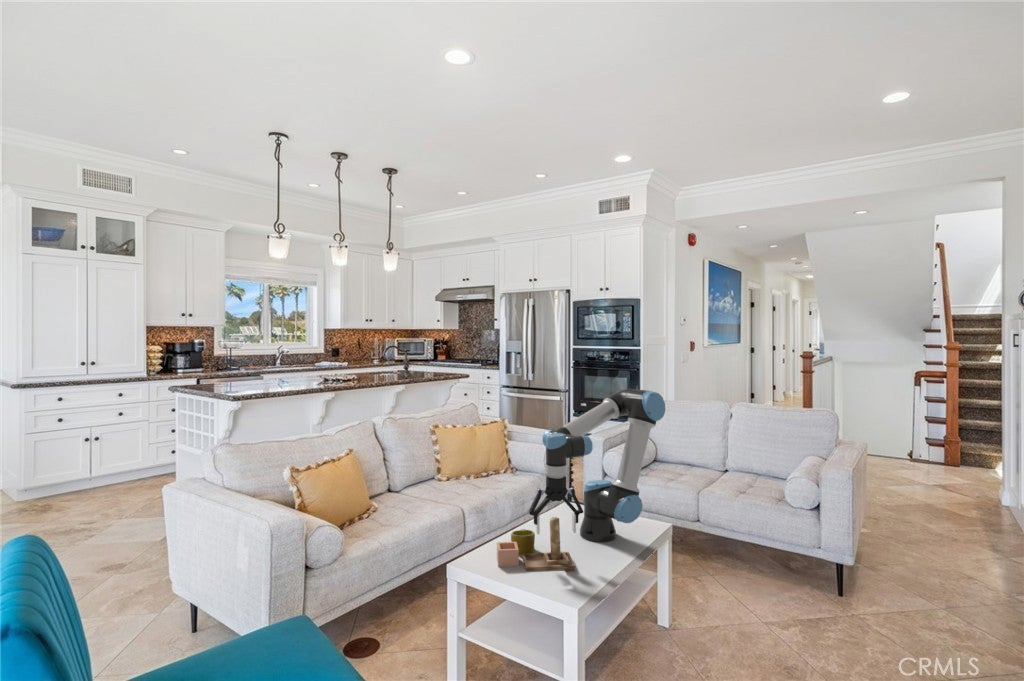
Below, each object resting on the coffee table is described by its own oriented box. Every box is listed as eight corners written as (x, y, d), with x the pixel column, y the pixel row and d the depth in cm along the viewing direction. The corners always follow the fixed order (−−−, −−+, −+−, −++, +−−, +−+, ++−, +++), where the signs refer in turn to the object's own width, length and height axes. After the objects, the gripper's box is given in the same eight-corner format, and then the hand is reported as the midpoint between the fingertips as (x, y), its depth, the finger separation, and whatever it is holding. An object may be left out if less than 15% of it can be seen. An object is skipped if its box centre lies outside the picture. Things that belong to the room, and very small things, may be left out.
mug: (536, 555, 205) (529, 528, 207) (511, 561, 207) (504, 535, 209) (543, 549, 216) (536, 523, 219) (519, 555, 218) (513, 529, 221)
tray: (568, 557, 207) (568, 549, 207) (575, 571, 195) (575, 562, 195) (522, 559, 206) (522, 551, 205) (526, 573, 194) (526, 564, 194)
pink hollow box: (516, 559, 205) (516, 541, 205) (518, 568, 198) (518, 549, 197) (496, 560, 204) (496, 542, 204) (498, 569, 197) (498, 550, 197)
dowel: (559, 559, 203) (558, 517, 202) (561, 563, 199) (560, 520, 199) (550, 559, 202) (548, 517, 202) (551, 563, 199) (550, 520, 199)
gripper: (586, 472, 205) (586, 527, 205) (521, 473, 203) (521, 529, 203) (591, 477, 198) (591, 534, 198) (524, 479, 195) (524, 537, 196)
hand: (556, 532), depth 201 cm, fingers open, 13 cm apart
